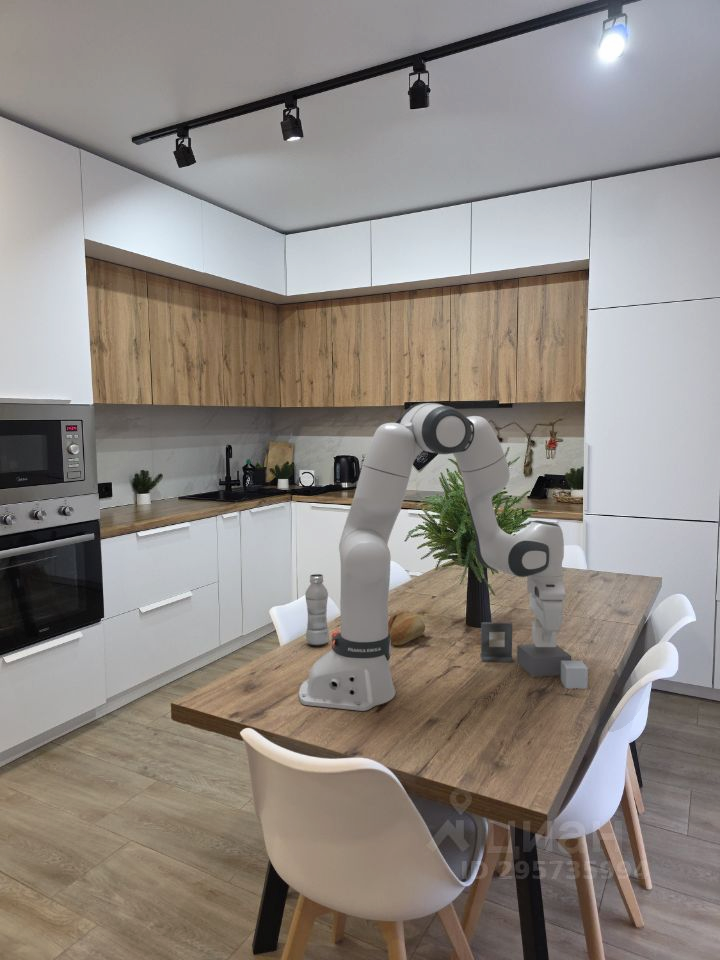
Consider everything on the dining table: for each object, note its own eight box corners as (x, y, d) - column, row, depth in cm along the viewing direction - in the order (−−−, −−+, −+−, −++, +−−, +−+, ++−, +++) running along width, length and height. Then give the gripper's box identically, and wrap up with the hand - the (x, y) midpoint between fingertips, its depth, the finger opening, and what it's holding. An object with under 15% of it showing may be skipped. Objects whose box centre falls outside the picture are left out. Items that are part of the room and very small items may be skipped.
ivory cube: (535, 646, 164) (536, 627, 164) (531, 640, 169) (532, 621, 169) (556, 647, 164) (556, 627, 164) (551, 640, 169) (551, 621, 169)
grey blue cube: (566, 688, 155) (566, 668, 154) (560, 680, 160) (561, 660, 159) (587, 689, 155) (588, 668, 154) (581, 680, 160) (581, 660, 159)
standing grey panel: (482, 661, 172) (482, 625, 171) (480, 656, 176) (480, 620, 175) (512, 661, 172) (513, 625, 171) (510, 656, 176) (510, 620, 175)
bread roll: (377, 645, 186) (377, 617, 185) (402, 630, 199) (402, 604, 198) (408, 651, 181) (408, 623, 180) (431, 635, 194) (431, 609, 193)
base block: (533, 678, 162) (533, 658, 161) (517, 663, 172) (517, 644, 171) (570, 675, 163) (571, 655, 163) (552, 660, 173) (553, 642, 173)
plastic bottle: (334, 643, 187) (333, 575, 185) (316, 650, 182) (315, 579, 180) (318, 638, 191) (317, 571, 189) (301, 644, 186) (299, 575, 184)
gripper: (524, 574, 176) (523, 624, 177) (541, 594, 155) (539, 651, 157) (547, 574, 175) (546, 624, 177) (568, 595, 155) (566, 651, 156)
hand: (543, 637), depth 167 cm, fingers closed on ivory cube, 5 cm apart
